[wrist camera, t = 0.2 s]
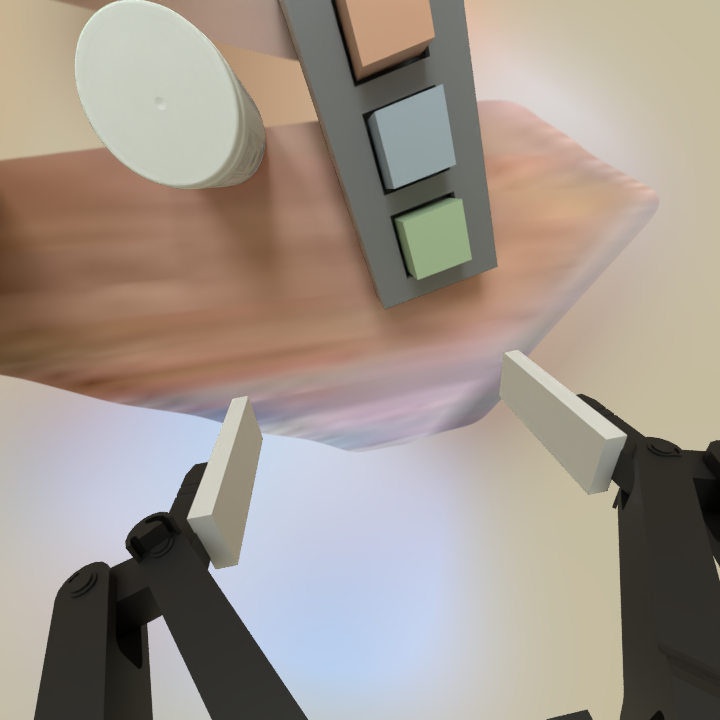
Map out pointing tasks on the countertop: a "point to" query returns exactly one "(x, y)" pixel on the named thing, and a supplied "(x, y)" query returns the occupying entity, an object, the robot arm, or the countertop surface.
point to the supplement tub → (166, 98)
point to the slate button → (412, 138)
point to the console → (356, 149)
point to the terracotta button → (384, 32)
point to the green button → (434, 237)
